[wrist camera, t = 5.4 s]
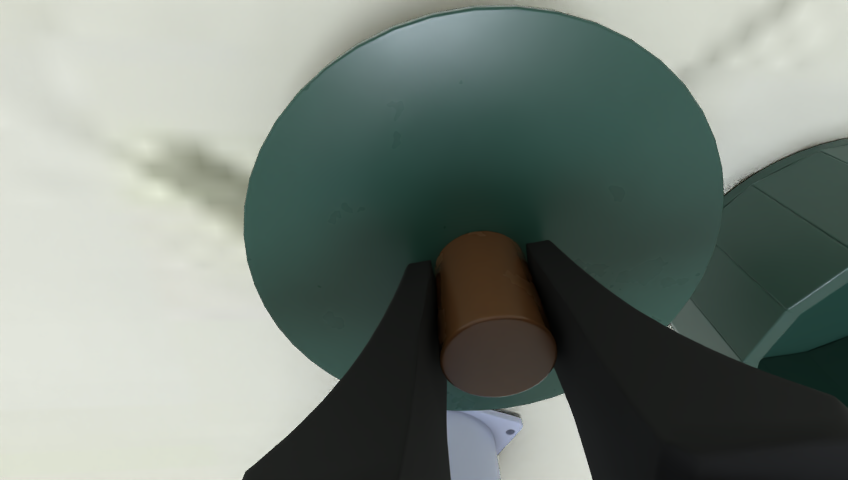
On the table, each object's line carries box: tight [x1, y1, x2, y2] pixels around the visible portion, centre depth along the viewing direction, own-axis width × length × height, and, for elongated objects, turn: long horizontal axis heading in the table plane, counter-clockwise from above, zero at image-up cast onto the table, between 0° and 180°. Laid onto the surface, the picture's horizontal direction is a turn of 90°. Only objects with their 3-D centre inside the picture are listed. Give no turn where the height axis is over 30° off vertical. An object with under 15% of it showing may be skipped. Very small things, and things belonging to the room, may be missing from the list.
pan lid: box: [244, 5, 724, 411], centre depth 11 cm, size 13×13×4 cm
